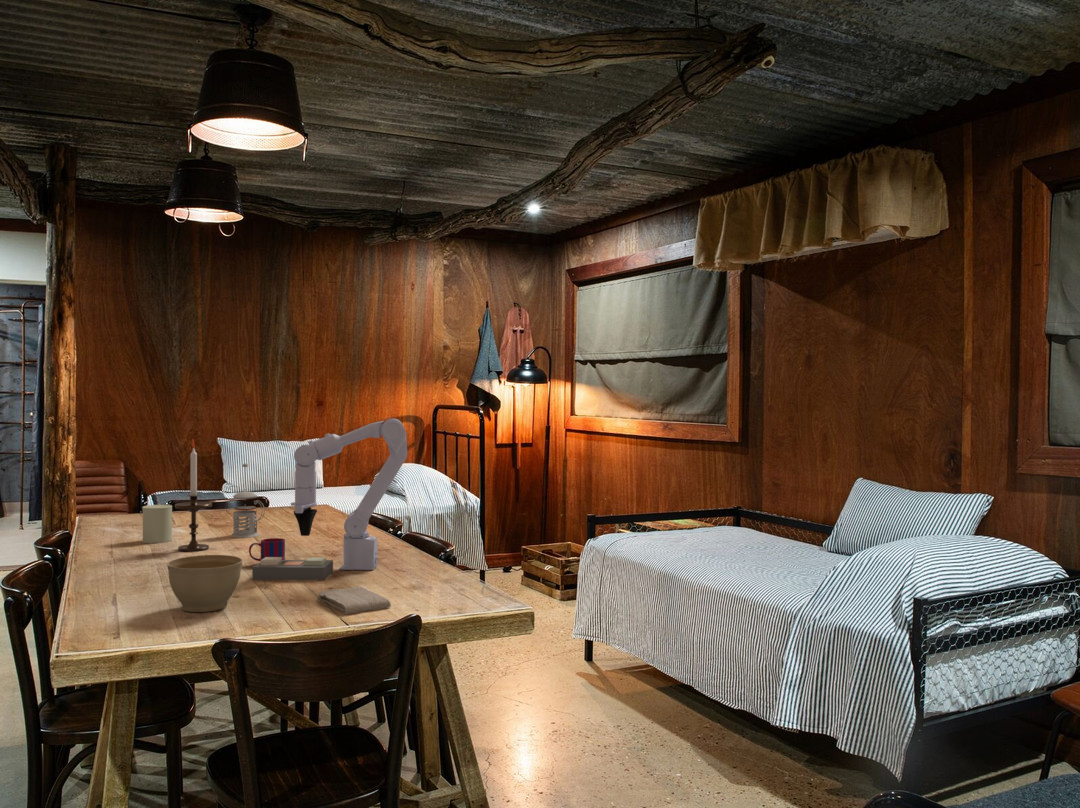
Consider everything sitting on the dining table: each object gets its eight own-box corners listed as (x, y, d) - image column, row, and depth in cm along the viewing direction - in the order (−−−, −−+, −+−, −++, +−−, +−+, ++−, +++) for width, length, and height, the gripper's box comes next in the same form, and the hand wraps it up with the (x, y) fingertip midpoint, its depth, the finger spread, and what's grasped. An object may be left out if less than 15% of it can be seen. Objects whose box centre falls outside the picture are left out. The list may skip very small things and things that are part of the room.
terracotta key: (303, 569, 238) (303, 561, 238) (299, 572, 233) (299, 564, 233) (287, 569, 238) (287, 561, 238) (283, 572, 233) (283, 564, 233)
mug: (285, 564, 251) (285, 541, 251) (249, 567, 248) (249, 543, 248) (283, 560, 258) (283, 537, 257) (248, 562, 254) (248, 539, 254)
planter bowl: (167, 620, 190) (167, 570, 190) (167, 603, 205) (167, 557, 205) (245, 613, 196) (245, 564, 196) (239, 597, 211) (239, 552, 211)
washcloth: (359, 595, 216) (359, 583, 216) (393, 609, 202) (393, 596, 202) (313, 602, 209) (313, 589, 209) (345, 617, 195) (345, 603, 195)
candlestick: (195, 553, 268) (195, 439, 267) (167, 551, 271) (167, 438, 271) (219, 547, 278) (219, 438, 278) (191, 545, 281) (191, 437, 281)
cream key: (281, 565, 238) (281, 557, 238) (277, 568, 233) (277, 560, 233) (265, 565, 238) (265, 557, 238) (260, 568, 233) (260, 560, 233)
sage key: (325, 565, 238) (325, 557, 238) (321, 568, 233) (321, 560, 233) (309, 565, 238) (309, 557, 238) (305, 568, 233) (305, 560, 233)
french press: (238, 532, 307) (238, 462, 307) (269, 533, 306) (269, 462, 305) (224, 537, 298) (224, 464, 297) (256, 538, 296) (257, 464, 296)
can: (178, 540, 291) (178, 504, 291) (153, 544, 283) (153, 507, 283) (161, 537, 296) (161, 502, 296) (136, 541, 288) (136, 505, 288)
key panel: (333, 572, 241) (333, 560, 241) (324, 580, 231) (324, 567, 231) (264, 572, 241) (264, 559, 241) (252, 579, 231) (252, 567, 231)
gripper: (298, 484, 253) (298, 531, 253) (283, 490, 238) (283, 539, 238) (322, 484, 253) (322, 531, 253) (309, 490, 238) (309, 539, 238)
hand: (305, 535), depth 246 cm, fingers closed
